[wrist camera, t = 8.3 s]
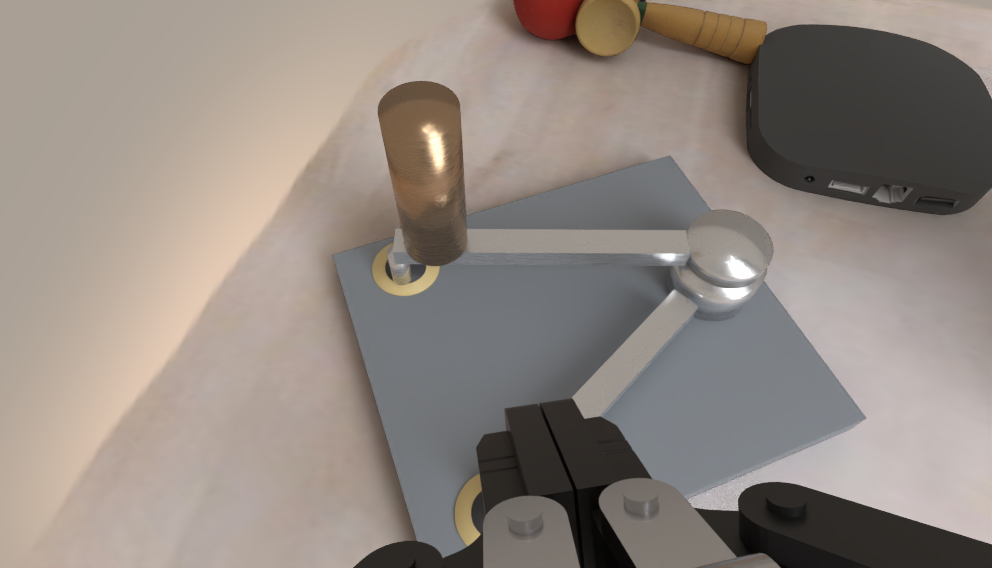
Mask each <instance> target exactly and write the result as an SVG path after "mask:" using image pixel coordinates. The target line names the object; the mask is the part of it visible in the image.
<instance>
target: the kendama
mask: <svg viewBox="0 0 992 568" xmlns="http://www.w3.org/2000/svg"><path fill="white" fill-rule="evenodd" d="M513 2H514V6H515V11H516V14H517V16H518V18H519V20H520V22H521V23H522V25H523V26H524V27H525V28H526V29H527V30H528V31H529V32H530V33H532V34H534V35H535V36H538V37H540V38H543V39H549V40H557V39H562V38H565V37H568V36H572V35H576V34H577V37H578V39H579V41H580V43H581V44H582V45H583V47H585V49H587V50H588V51H589V52H591V53H593V54H595V55H599V56H613V55H617V54H620V53H622V52H624V51H626V49H628V48H629V47H630V46H631V45H632V43H633V42H634V40H635V38H636V36H637V34H638V31H639V27H640V26H643V27H645V28H647V29H649V30H652V31H654V32H657V33H659V34H661V35H664V36H666V37H669V38H672V39H674V40H677V41H680V42H683V43H686V44H690V45H692V44H693V46H695V47H698V48H702V49H705V50H707V51H710V52H713V53H717V54H719V55H722V56H725V57H729V58H731V59H733V60H736V61H738V62H741V63H744V64H748V65H749V64H751V63H752V62H753V60H754V59H755V56H756V54H757V51H758V49H759V46H760V45H762V44H763V42H764V39H765V36H766V31H767V24H766V22H763V21H758V20H752V19H742V18H739V17H734V16H729V15H723V14H717V13H713V12H708V11H705V12H704V11H702V10H698V9H693V8H687V7H681V6H675V5H667V4H657V3H648V2H646V0H513ZM575 32H576V33H575Z"/></svg>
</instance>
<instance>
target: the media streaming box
mask: <svg viewBox="0 0 992 568" xmlns="http://www.w3.org/2000/svg"><path fill="white" fill-rule="evenodd" d="M746 125H747V146H748V151H749V153H750V156H751V157H752V159H753V161H754V162H755V163H756V165H757V166H758V167H759V168H760V169H761V170H762V171H763V172H764V173H766V174H767V175H768V176H770V177H771V178H772V179H774V180H776V181H777V182H779V183H781V184H783V185H786V186H788V187H791V188H793V189H797V190H802V191H806V192H811V193H816V194H820V195H825V196H830V197H835V198H840V199H845V200H851V201H856V202H861V203H867V204H873V205H878V206H885V207H891V208H897V209H903V210H910V211H917V212H924V213H931V214H939V215H947V214H955V213H959V212H963V211H965V210H967V209H969V208H971V207H972V206H973V205H975V204H976V203H977V202H978V201H979V200H980V199H981V198H982V197H983V196H984V195H985V194H986V193H987V192H988V191H989V190H990V189H991V188H992V99H991V97H990V94H989V92H988V90H987V88H986V86H985V85H984V83H983V81H982V80H981V78H980V76H979V75H978V74H977V73H976V72H975V71H974V70H973V69H972V68H970V67H969V66H968V65H967V64H965V63H964V62H962V61H961V60H959V59H958V58H956V57H955V56H953V55H951V54H950V53H948V52H946V51H944V50H942V49H940V48H938V47H936V46H934V45H931V44H929V43H926V42H923V41H920V40H917V39H913V38H910V37H906V36H902V35H898V34H893V33H889V32H884V31H878V30H872V29H866V28H858V27H849V26H838V25H795V26H789V27H785V28H781V29H778V30H775V31H773V32H771V33H769V34H767V35H766V36H765V39H764V42H763V44H762V45H760V46H759V49H758V51H757V54H756V56H755V59H754V60H753V62H752V63H751V65H750V70H749V78H748V88H747V109H746ZM835 190H836V191H835ZM856 194H857V195H856Z"/></svg>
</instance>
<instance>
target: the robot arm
mask: <svg viewBox="0 0 992 568" xmlns="http://www.w3.org/2000/svg"><path fill="white" fill-rule="evenodd" d="M504 413H505V423H506V431H502V432H496V433H489V434H484V435H483V437H482V438H481V440H480V442H479V443H478V445H477V447H476V452H477V459H478V466H479V474H480V481H481V489H482V496H483V503H484V511H485V519H484V522H483V531H482V533H481V534H480V536H479V537H478V538H477V539H476V540H475V541H474V542H473V543H471V544H470V545H469V546H467V547H466V548H464V549H462V550H460V551H458V552H456V553H454V554H451V555H449V556H446V557H444V558H443V557H442V555H441V553H440V552H439V551H438V550H437V549H436V548H435V547H433V546H432V545H429V544H427V543H423V542H418V541H403V542H397V543H393V544H389V545H386V546H384V547H381V548H379V549H377V550H375V551H374V552H372V553H370V554H369V555H368V556H366V557H365V558H364V559H363V560H361V561H360V562H359V563H358V564H357V565H356V566H355V567H353V568H992V544H988V543H985V542H982V541H979V540H975V539H972V538H969V537H966V536H962V535H959V534H956V533H953V532H949V531H946V530H943V529H940V528H936V527H933V526H930V525H927V524H923V523H920V522H917V521H914V520H910V519H907V518H904V517H901V516H898V515H894V514H891V513H888V512H885V511H881V510H878V509H875V508H872V507H868V506H865V505H862V504H859V503H855V502H852V501H849V500H846V499H842V498H839V497H836V496H833V495H829V494H826V493H823V492H820V491H816V490H813V489H810V488H807V487H803V486H800V485H796V484H791V483H783V482H768V483H761V484H756V485H753V486H751V487H749V488H747V489H745V490H744V491H743V492H742V493H741V495H740V496H739V499H738V509H739V511H724V510H705V509H698V508H693V507H692V505H691V504H690V503H689V502H688V501H687V500H686V499H685V497H684V496H683V495H682V494H681V493H680V492H679V491H678V490H677V489H676V488H674V487H673V486H671V485H669V484H667V483H665V482H662V481H658V480H654V479H652V477H651V476H650V474H649V473H648V471H647V470H646V468H645V467H644V465H643V464H642V462H641V461H640V459H639V458H638V456H637V455H636V453H635V452H634V451H632V447H631V446H630V444H629V443H628V441H627V440H625V437H624V435H623V434H622V432H621V431H620V429H619V428H618V426H617V425H615V424H613V423H612V422H610V421H608V420H606V419H604V418H603V417H601V416H599V417H592V418H586V419H584V417H583V415H582V414H581V412H580V410H579V408H578V407H577V405H576V403H575V401H574V400H573V398H569V399H563V400H556V401H549V402H543V403H539V406H538V404H530V405H524V406H517V407H510V408H505V409H504Z"/></svg>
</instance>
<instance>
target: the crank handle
mask: <svg viewBox="0 0 992 568" xmlns="http://www.w3.org/2000/svg"><path fill="white" fill-rule="evenodd" d="M378 117H379V122H380V127H381V132H382V136H383V141H384V146H385V151H386V156H387V161H388V166H389V171H390V176H391V181H392V186H393V191H394V195H395V200H396V205H397V210H398V215H399V220H400V225H401V228H395V236H394V245H392V246H390V247H389V248H388V250H387V258H388V262H389V266H390V270H391V274H392V278H393V281H394V282H395V283H396V284H397V285H406V284H408V283H409V282H410V281H411V279H412V273H411V268H410V264H423V265H427V266H442V265H446V264H449V265H620V266H685V265H686V264H687V265H688V267H689V268H690V270H691V271H692V272H693V273H694V274H695V275H696V276H698V277H699V278H700V279H702V280H703V281H705V282H707V283H709V284H711V285H714V286H717V287H721V288H727V289H738V288H743V287H746V286H749V285H751V284H753V283H754V282H756V281H757V280H758V279H759V278H760V277H761V275H762V274H763V272H764V271H765V269H766V268H767V266H768V265H769V263H770V262H771V260H772V257H773V244H772V241H771V238H770V236H769V234H768V233H767V231H766V230H765V229H764V228H763V227H762V226H761V225H760V224H759V223H758V222H757V221H755V220H754V219H752V218H750V217H749V216H747V215H744V214H742V213H739V212H736V211H731V210H712V211H708V212H706V213H703V214H701V215H700V216H698V217H697V218H696V219H695V220H694V221H693V222H692V223H691V225H690V227H689V229H688V232H687V234H686V230H569V229H467V220H466V202H465V185H464V167H463V150H462V132H461V114H460V103H459V100H458V98H457V96H456V95H455V94H454V93H453V91H451V90H450V89H449V88H447V87H445V86H443V85H441V84H438V83H434V82H428V81H415V82H409V83H405V84H402V85H399V86H397V87H395V88H393V89H391V90H390V91H389V92H387V93H386V94H385V95H384V96H383V98H382V99H381V101H380V103H379V106H378Z"/></svg>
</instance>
